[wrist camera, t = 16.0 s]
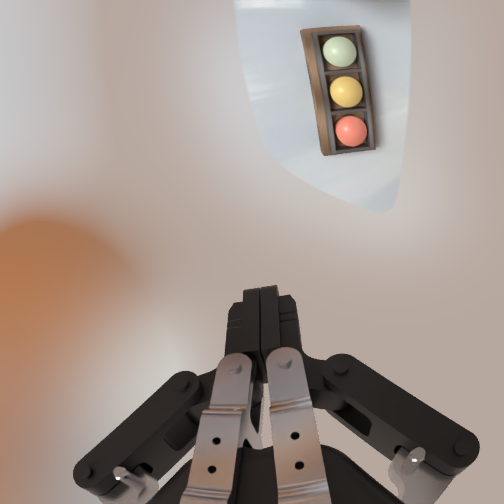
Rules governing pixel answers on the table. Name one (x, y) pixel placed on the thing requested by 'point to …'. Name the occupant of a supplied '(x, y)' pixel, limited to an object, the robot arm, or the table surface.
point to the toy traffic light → (320, 81)
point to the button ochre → (345, 91)
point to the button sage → (339, 51)
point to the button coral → (350, 130)
